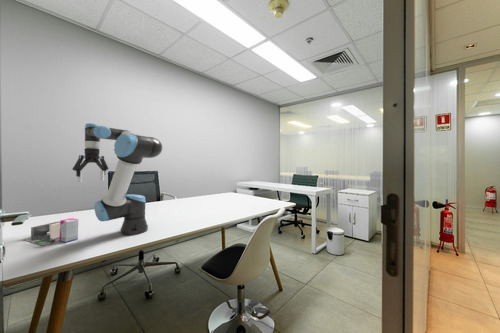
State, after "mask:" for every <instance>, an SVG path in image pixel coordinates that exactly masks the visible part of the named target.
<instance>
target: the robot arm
mask: <svg viewBox="0 0 500 333" xmlns="http://www.w3.org/2000/svg"><path fill="white" fill-rule="evenodd" d="M100 139H101V140H110V141H115V142H114V148H113V151H114V154H115V155H116V159H117V160H118V161H117V164H116V167H115V171H114V173H113V176H112V179H111V181H110V185H109V187H108V190H107V193H105V194H104V195H103V196H102V198H101V200H98V201H97V200H96V201H95V203H94V214H95V216H96V218H97V220H98V221H100V222H109V221H113V220H117V219H118V220H119V219H122V218H123V222H122V224H121V227H120V229H119V230H120V234H121V235H124V236H134V235H140V234H142V233H145V232H147V231H148V229H149V228H148V227H149V225H148V223H147V220H146V203H147V202H146V197H145V196H144V195H141V194H127V192H128V189H129V187H130V184H131V181H132V178H133V177H134V174H135V171H136V168H137V166H138V165H140V164H141V163H142V161H143V159H153V158H156V157H158V156H159V155H160V154H161V153H162V150H163V144H162V142H161V141H160V140H159V139H158V138H155V137H153V136H152V137H151V136H145V135H140V134H137V133H134V132H132V130H131V131H130V130H128V129H120V128H113V127H108V126H105V125H99V124H97V123H90V122H88V123H85V126H84V147H85V148H84V155H83V154H79V155H78V158H77V161H76V162H75V164H74V166H73V167H72V171H75V176H76V177H77V183H82V182H83V171H82V170H83V169H84V168H85V167H86V166H87V165H88V164H89V163H91V164H92V163H95V164H96V165H97V166H98V168H99V169H100V172H99V173H100V176H99V179H100V180H99V181H105V175H106V171H107V170H109V167H108V164H107V162H106V160H105V156H104V155H100V147H101V146H100V143H101V141H100Z"/></svg>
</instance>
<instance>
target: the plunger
mask: <svg viewBox="0 0 500 333" xmlns="http://www.w3.org/2000/svg"><path fill="white" fill-rule="evenodd" d="M46 237H49V238H52V239H55V238H58V237H60V223H55V224H51V225H49V232H47V236H44V237H40V238H37V240H39V239H42V238H46Z"/></svg>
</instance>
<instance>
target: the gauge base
mask: <svg viewBox="0 0 500 333" xmlns="http://www.w3.org/2000/svg"><path fill="white" fill-rule="evenodd" d="M55 223H60V220H59V221H54V222H50V223H45V224H40V225H36V226H31V227H30V237H29V238H25V239H23V241H24V242H28V243H32V244H35V245H38V246H42V247H43V246H47V245H50V244H54V243H57V242H60V237H58V238H55V239H52V238H49V237H46V238H42V239H39V240H37V238H40V237H44V236H47V232H49V225H51V224H55Z"/></svg>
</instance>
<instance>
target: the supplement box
mask: <svg viewBox="0 0 500 333" xmlns="http://www.w3.org/2000/svg"><path fill="white" fill-rule="evenodd" d="M79 221H80V220H79V218H74V217H72V218H66V219H60V220H59V222H60V241H59V242H61V243H65V244H68V243H71V242H73V241H76V240H79Z"/></svg>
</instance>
